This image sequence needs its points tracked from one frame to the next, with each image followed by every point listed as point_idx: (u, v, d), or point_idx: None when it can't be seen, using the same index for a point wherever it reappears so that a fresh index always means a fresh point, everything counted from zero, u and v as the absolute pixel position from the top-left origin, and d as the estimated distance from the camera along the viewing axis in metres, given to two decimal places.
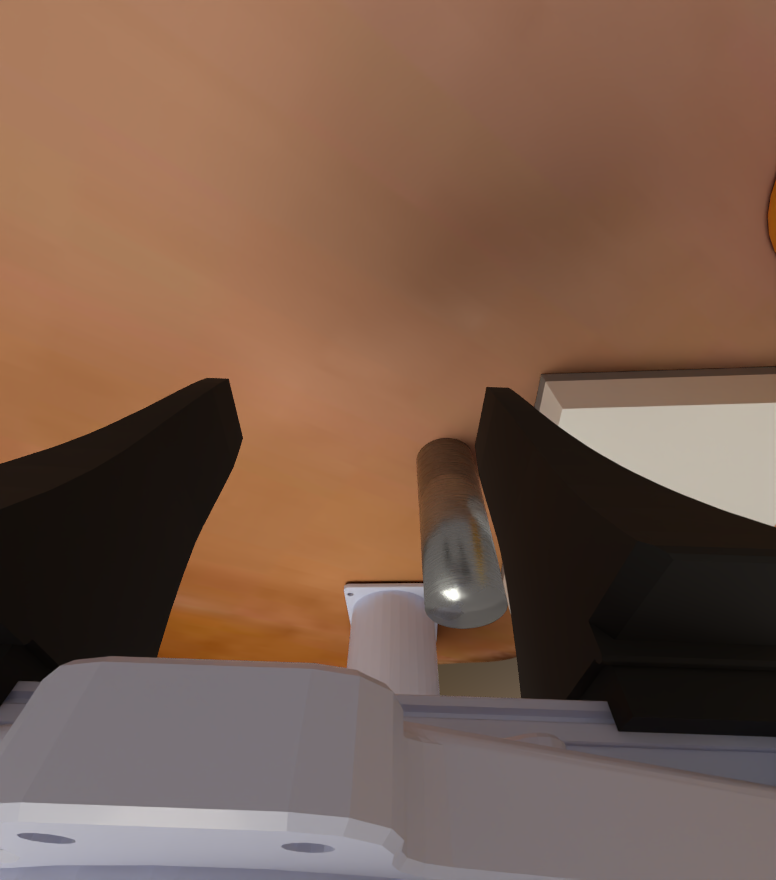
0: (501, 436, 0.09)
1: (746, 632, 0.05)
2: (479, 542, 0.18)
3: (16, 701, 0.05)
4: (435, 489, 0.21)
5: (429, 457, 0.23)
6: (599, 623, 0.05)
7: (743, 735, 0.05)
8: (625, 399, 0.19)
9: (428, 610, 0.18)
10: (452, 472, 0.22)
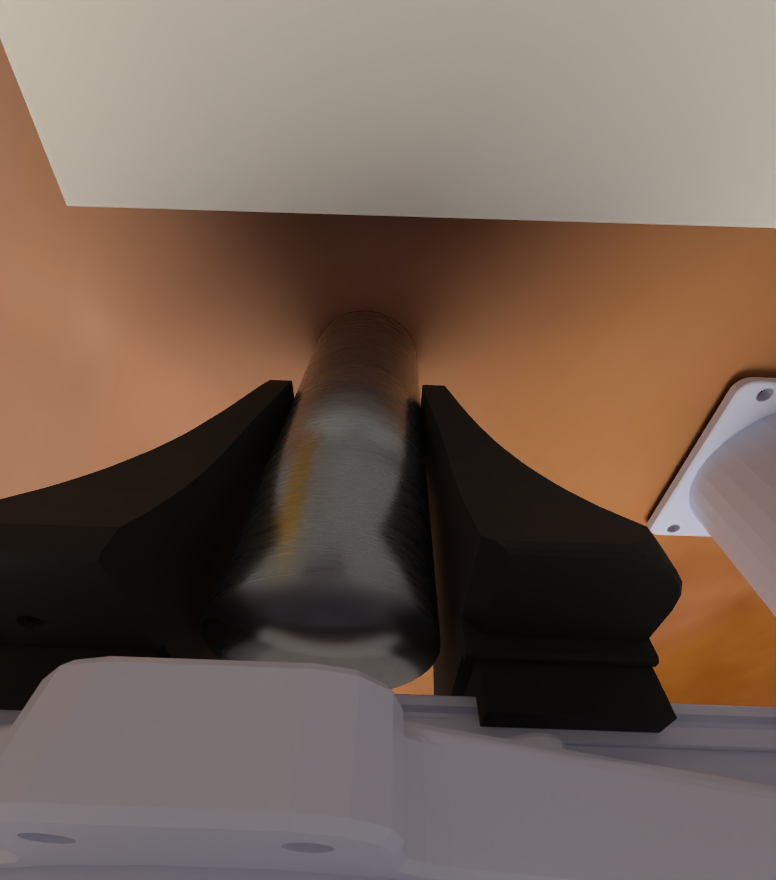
0: (428, 434, 0.09)
1: (608, 627, 0.05)
2: (253, 499, 0.07)
3: None
4: None
5: None
6: (469, 619, 0.05)
7: (605, 730, 0.05)
8: None
9: None
10: None
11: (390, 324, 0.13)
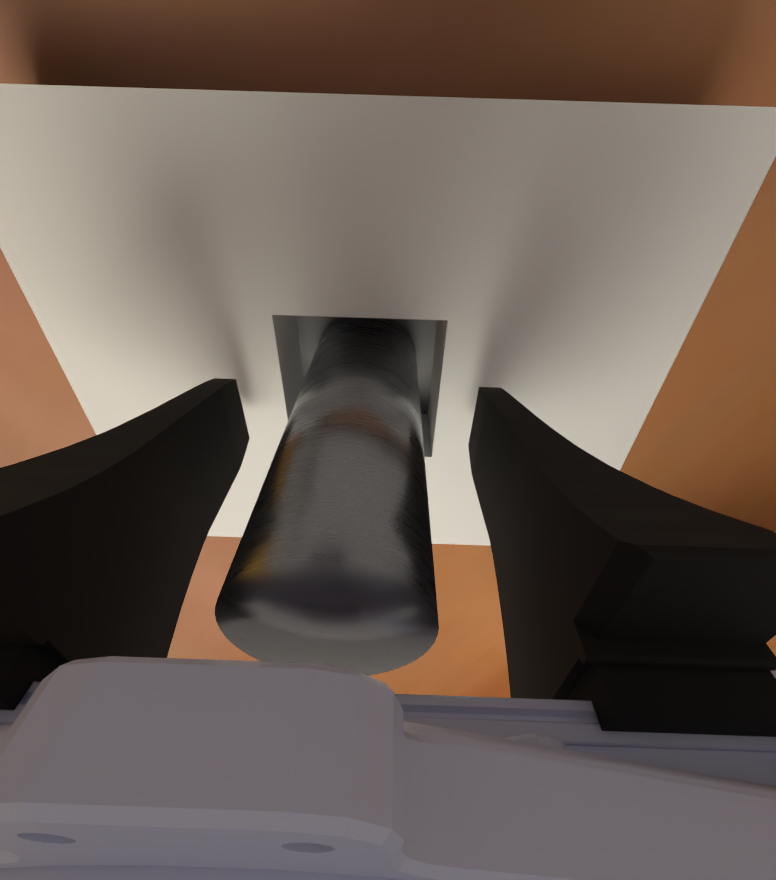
0: (493, 436, 0.09)
1: (730, 632, 0.05)
2: (262, 488, 0.08)
3: None
4: None
5: None
6: (583, 623, 0.05)
7: (727, 734, 0.05)
8: None
9: None
10: None
11: (393, 325, 0.13)
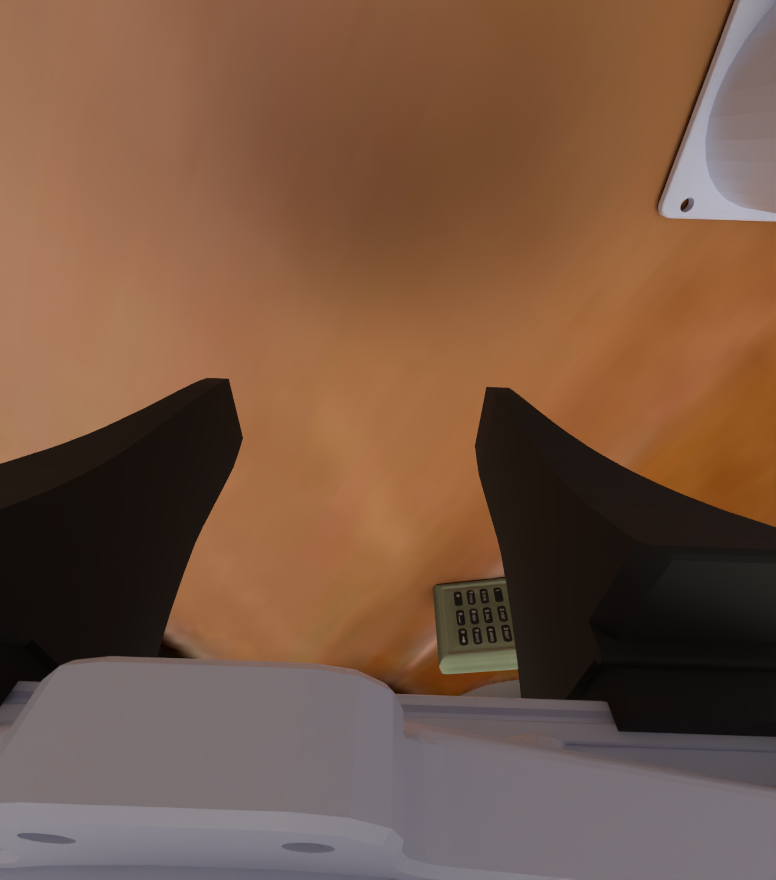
0: (502, 436, 0.09)
1: (746, 632, 0.05)
2: None
3: (16, 701, 0.05)
4: None
5: None
6: (599, 623, 0.05)
7: (743, 735, 0.05)
8: None
9: None
10: None
11: None
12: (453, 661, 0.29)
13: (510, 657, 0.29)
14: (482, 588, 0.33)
